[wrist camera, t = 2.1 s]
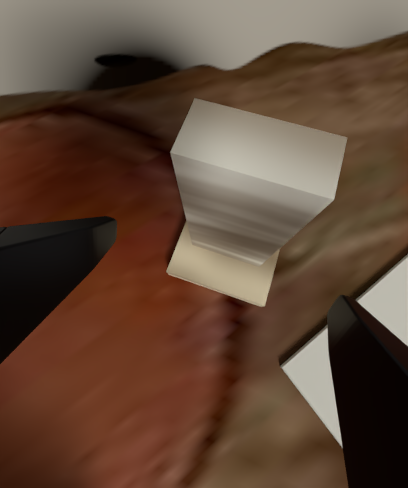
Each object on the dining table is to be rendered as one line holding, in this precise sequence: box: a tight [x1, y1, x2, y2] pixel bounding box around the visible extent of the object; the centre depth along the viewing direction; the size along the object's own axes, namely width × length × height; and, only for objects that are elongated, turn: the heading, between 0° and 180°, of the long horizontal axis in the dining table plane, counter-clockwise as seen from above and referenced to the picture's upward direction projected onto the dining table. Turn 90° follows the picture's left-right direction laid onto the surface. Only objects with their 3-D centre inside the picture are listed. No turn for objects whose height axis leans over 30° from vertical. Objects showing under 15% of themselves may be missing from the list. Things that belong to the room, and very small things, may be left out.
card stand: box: [166, 98, 347, 307], centre depth 14 cm, size 8×8×13 cm
